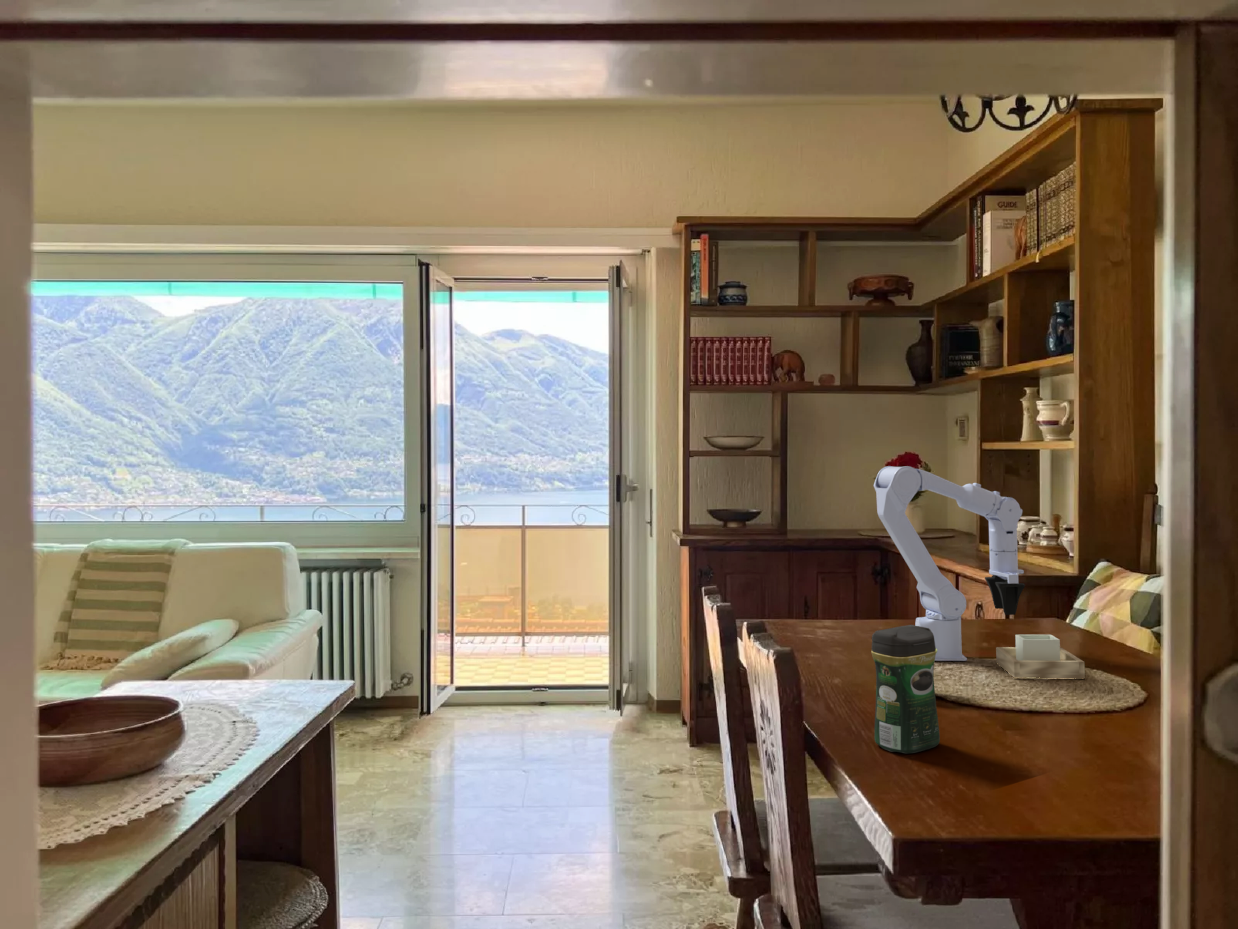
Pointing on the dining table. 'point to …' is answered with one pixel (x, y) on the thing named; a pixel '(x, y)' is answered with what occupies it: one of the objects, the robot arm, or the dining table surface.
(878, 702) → the coffee jar
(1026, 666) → the wooden tray
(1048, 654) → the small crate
